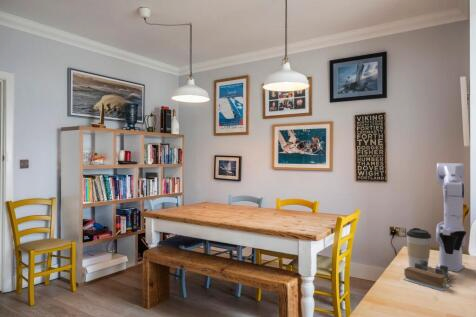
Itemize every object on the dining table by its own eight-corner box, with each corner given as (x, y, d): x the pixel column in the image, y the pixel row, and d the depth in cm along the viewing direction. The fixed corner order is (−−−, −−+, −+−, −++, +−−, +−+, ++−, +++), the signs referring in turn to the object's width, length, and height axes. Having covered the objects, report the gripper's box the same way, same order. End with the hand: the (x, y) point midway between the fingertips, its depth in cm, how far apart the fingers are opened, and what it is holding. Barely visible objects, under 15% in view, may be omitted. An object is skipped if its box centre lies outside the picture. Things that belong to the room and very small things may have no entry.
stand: (418, 270, 130) (418, 259, 130) (450, 279, 122) (450, 267, 122) (412, 274, 126) (412, 262, 126) (444, 283, 118) (444, 270, 118)
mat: (411, 275, 125) (411, 274, 125) (450, 285, 116) (450, 285, 116) (403, 279, 121) (403, 278, 121) (443, 291, 111) (443, 290, 111)
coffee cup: (434, 270, 130) (435, 233, 130) (409, 268, 132) (410, 231, 132) (426, 263, 139) (426, 227, 139) (403, 261, 141) (403, 226, 141)
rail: (407, 275, 125) (407, 266, 125) (447, 285, 115) (447, 276, 115) (403, 277, 123) (403, 268, 122) (443, 288, 112) (443, 278, 112)
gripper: (447, 211, 128) (447, 246, 129) (433, 215, 119) (433, 252, 119) (469, 214, 123) (468, 250, 123) (456, 218, 114) (455, 257, 114)
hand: (452, 251), depth 121 cm, fingers open, 7 cm apart
